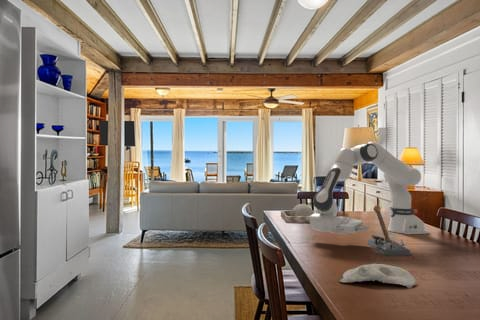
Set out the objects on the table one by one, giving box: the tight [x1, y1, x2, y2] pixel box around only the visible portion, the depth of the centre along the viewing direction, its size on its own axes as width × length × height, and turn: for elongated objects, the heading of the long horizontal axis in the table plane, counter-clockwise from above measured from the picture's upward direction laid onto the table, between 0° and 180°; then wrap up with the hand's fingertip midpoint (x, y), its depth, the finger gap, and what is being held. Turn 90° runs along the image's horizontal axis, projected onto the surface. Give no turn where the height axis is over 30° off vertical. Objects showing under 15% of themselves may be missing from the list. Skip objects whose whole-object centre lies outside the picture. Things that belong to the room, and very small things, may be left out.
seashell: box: [291, 203, 314, 216], centre depth 254 cm, size 15×14×15 cm
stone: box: [339, 263, 418, 289], centre depth 134 cm, size 28×7×15 cm
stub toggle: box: [400, 239, 407, 249], centre depth 168 cm, size 1×2×4 cm, turn 148°
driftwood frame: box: [280, 210, 316, 224], centre depth 253 cm, size 24×24×4 cm
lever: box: [373, 205, 392, 246], centre depth 173 cm, size 3×4×20 cm
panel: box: [367, 238, 411, 256], centre depth 176 cm, size 12×20×5 cm, turn 1°
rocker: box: [371, 234, 385, 241], centre depth 182 cm, size 5×3×1 cm, turn 91°
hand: (368, 228), depth 177 cm, fingers closed
